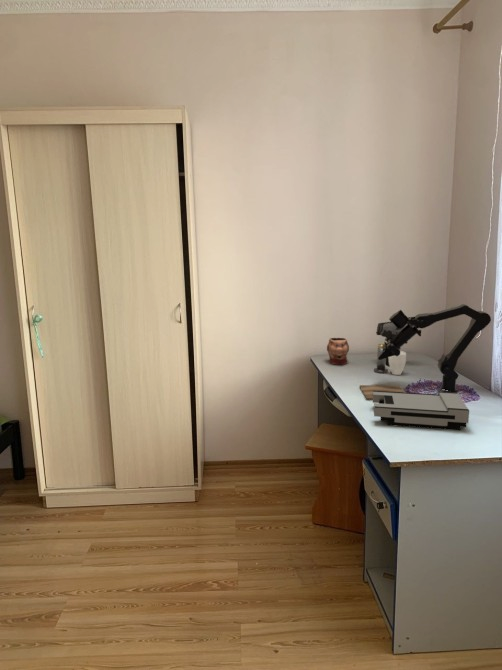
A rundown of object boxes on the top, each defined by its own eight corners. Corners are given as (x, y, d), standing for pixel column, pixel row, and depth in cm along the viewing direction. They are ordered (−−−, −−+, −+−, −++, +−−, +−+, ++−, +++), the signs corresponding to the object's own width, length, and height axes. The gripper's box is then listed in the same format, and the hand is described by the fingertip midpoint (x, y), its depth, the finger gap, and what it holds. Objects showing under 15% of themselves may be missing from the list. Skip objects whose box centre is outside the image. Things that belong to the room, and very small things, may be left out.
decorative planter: (323, 358, 272) (324, 335, 269) (344, 358, 272) (344, 334, 270) (330, 367, 252) (331, 342, 250) (352, 366, 253) (353, 341, 250)
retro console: (372, 406, 190) (372, 387, 189) (455, 412, 183) (456, 392, 182) (373, 425, 170) (374, 404, 169) (467, 432, 163) (469, 410, 162)
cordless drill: (421, 367, 250) (424, 321, 245) (375, 365, 255) (377, 320, 250) (419, 363, 258) (422, 319, 253) (374, 362, 262) (376, 318, 258)
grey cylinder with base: (390, 373, 214) (391, 345, 211) (376, 373, 213) (377, 346, 211) (384, 369, 220) (386, 343, 217) (371, 370, 219) (372, 343, 217)
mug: (403, 372, 241) (405, 350, 239) (406, 376, 233) (407, 354, 231) (379, 371, 243) (381, 350, 241) (381, 375, 235) (382, 353, 233)
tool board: (409, 400, 196) (409, 398, 196) (366, 400, 197) (366, 397, 197) (398, 388, 214) (399, 385, 214) (359, 387, 215) (359, 385, 215)
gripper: (390, 319, 220) (365, 341, 225) (393, 326, 202) (366, 349, 207) (406, 336, 220) (381, 358, 224) (411, 344, 202) (384, 367, 206)
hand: (378, 358), depth 215 cm, fingers closed on grey cylinder with base, 4 cm apart
